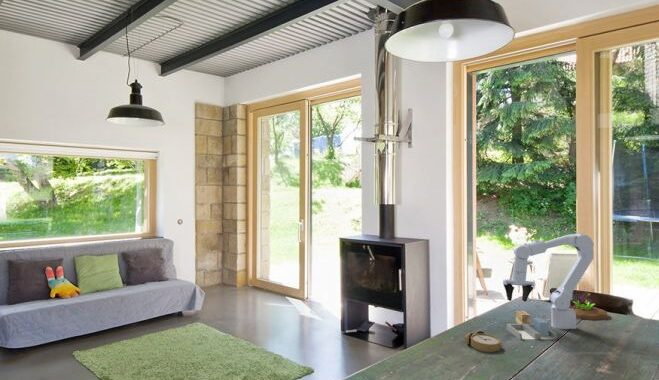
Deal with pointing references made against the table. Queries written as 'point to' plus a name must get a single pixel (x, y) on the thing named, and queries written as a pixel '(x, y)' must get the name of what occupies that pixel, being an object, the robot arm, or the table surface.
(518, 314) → the maple plug block
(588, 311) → the plant
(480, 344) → the alarm clock
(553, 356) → the table surface
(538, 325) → the slate-blue plug block
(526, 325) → the grey socket board
